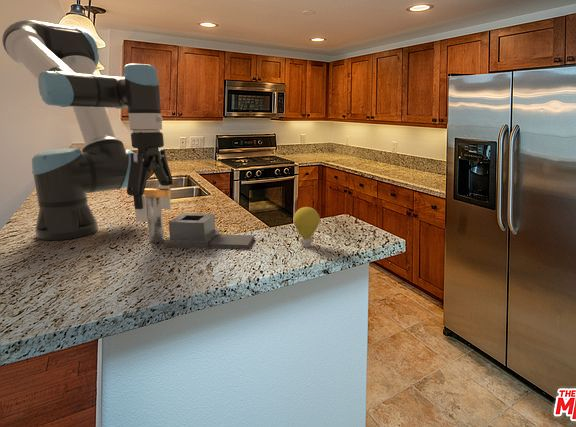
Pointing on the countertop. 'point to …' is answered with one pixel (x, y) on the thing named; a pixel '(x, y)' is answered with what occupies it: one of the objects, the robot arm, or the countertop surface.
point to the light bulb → (306, 224)
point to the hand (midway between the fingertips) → (154, 214)
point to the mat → (232, 241)
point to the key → (155, 212)
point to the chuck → (192, 231)
